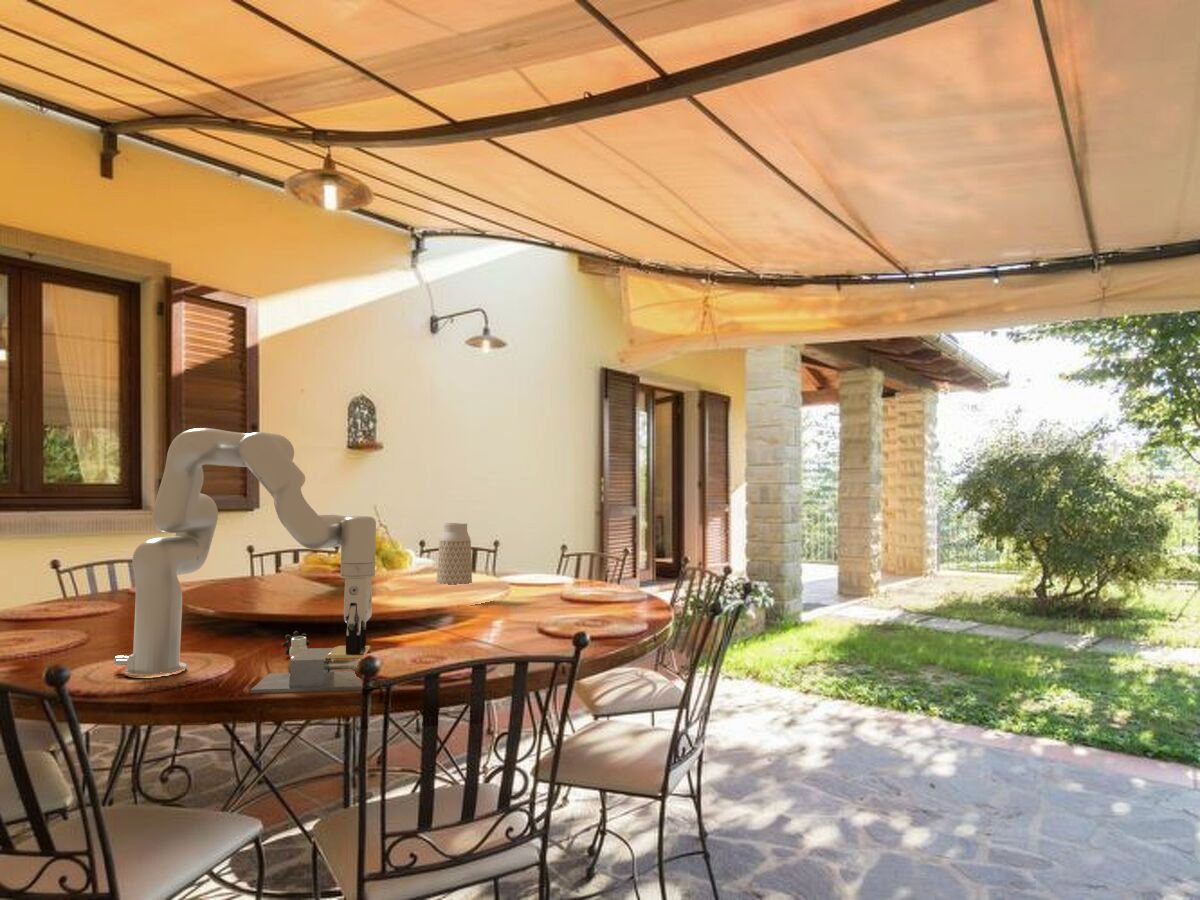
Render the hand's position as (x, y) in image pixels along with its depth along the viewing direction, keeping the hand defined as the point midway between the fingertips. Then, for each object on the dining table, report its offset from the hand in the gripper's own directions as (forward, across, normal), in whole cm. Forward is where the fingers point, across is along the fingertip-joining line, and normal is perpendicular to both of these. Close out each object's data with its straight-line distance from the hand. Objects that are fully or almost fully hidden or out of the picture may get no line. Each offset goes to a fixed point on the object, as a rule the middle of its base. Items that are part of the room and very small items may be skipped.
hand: (355, 649), depth 166 cm
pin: (+5, 0, +7) cm, 9 cm away
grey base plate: (+7, 0, +9) cm, 12 cm away
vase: (+7, +120, -18) cm, 122 cm away
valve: (+8, +23, +18) cm, 30 cm away
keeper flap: (+1, 0, +2) cm, 2 cm away
